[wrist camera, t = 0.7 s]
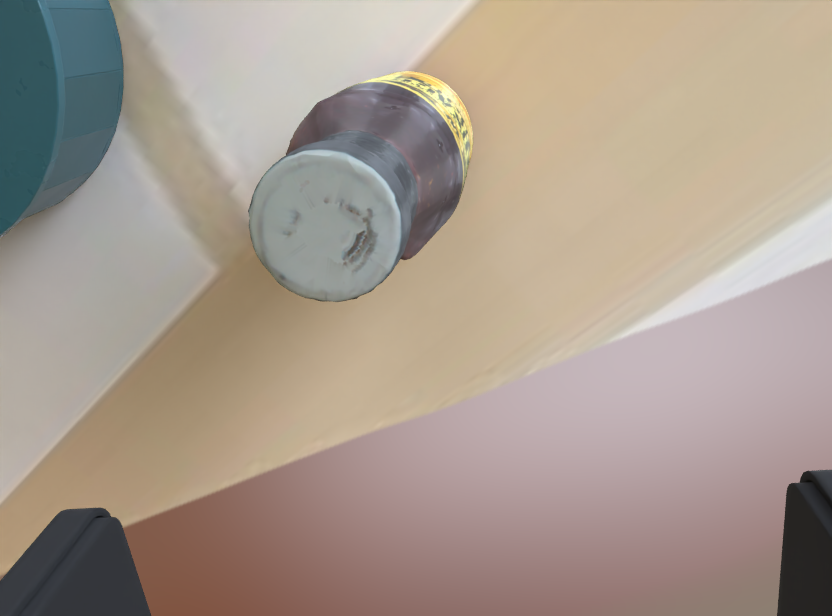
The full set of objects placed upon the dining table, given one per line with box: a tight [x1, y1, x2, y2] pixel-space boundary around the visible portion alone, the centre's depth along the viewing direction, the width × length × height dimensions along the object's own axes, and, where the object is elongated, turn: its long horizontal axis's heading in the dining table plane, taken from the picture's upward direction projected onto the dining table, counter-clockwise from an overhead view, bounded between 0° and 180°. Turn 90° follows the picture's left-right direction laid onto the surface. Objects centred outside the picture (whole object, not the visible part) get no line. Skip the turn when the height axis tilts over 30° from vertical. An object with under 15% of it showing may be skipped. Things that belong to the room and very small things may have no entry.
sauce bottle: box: [248, 71, 473, 302], centre depth 27 cm, size 7×6×20 cm
